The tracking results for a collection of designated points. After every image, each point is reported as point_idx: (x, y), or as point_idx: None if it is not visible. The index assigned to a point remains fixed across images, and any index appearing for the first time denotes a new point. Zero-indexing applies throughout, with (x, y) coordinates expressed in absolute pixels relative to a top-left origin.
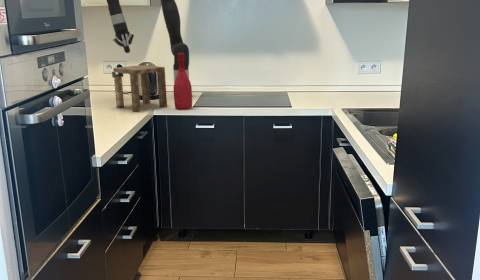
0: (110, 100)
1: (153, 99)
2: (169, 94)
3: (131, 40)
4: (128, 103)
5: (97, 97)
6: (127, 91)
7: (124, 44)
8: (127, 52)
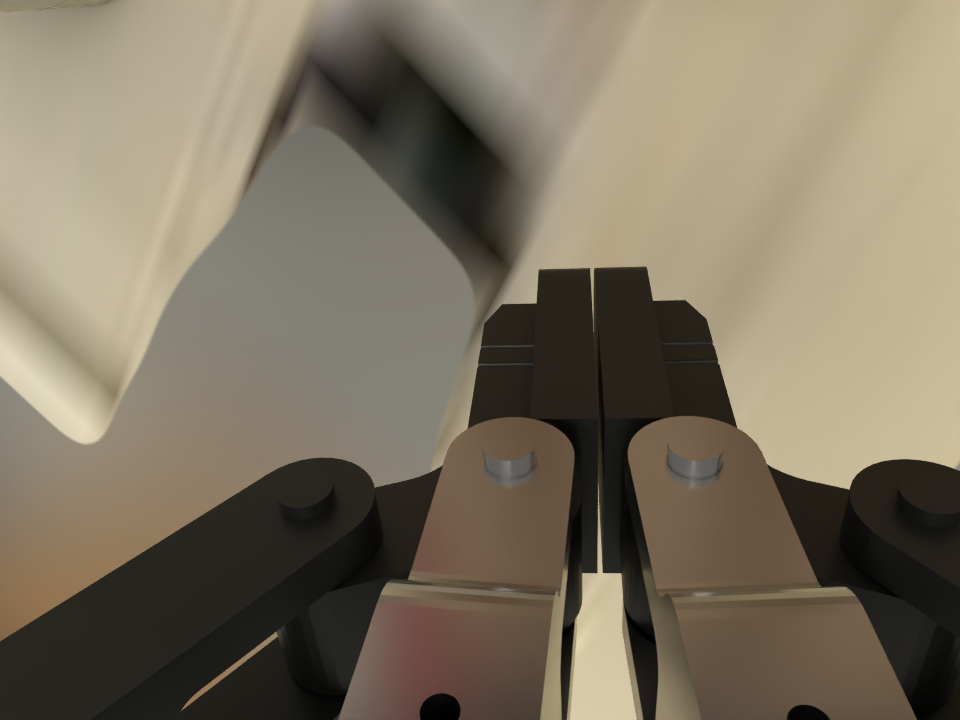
0: (789, 393)
1: (388, 59)
2: (132, 221)
3: (128, 602)
4: (764, 27)
5: None
6: None
7: (749, 509)
8: (644, 276)
